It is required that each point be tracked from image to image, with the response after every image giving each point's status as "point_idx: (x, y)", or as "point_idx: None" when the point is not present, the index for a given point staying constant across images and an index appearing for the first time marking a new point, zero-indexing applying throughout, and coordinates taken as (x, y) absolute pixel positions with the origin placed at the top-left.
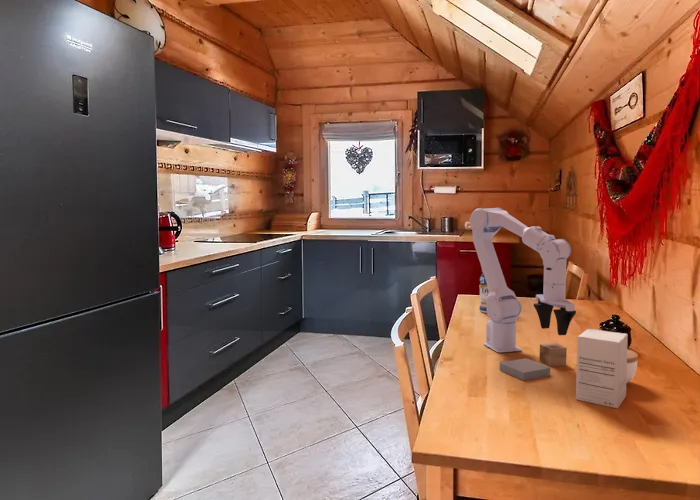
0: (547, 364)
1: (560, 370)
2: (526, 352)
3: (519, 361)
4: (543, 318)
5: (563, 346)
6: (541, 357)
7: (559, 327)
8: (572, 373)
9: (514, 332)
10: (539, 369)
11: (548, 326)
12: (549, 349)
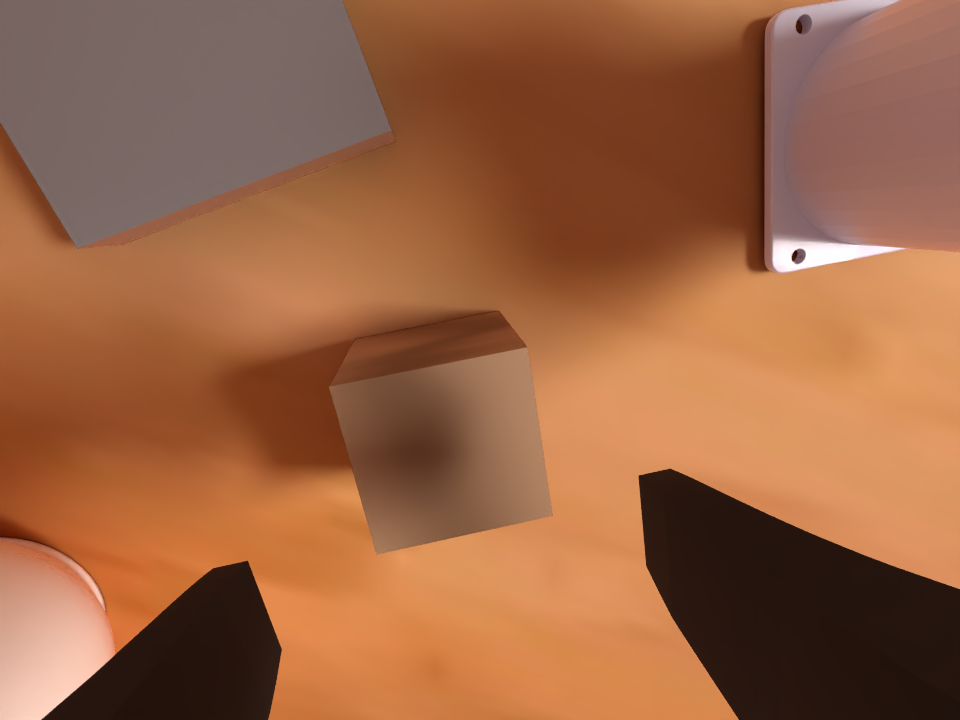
0: (391, 332)
1: (258, 377)
2: (726, 297)
3: (279, 3)
4: (747, 608)
5: (422, 542)
6: (475, 323)
7: (90, 677)
8: (188, 434)
9: (956, 201)
10: (1, 110)
11: (659, 577)
12: (352, 380)
